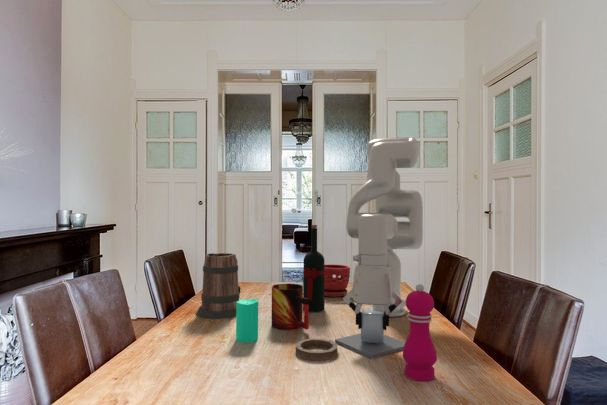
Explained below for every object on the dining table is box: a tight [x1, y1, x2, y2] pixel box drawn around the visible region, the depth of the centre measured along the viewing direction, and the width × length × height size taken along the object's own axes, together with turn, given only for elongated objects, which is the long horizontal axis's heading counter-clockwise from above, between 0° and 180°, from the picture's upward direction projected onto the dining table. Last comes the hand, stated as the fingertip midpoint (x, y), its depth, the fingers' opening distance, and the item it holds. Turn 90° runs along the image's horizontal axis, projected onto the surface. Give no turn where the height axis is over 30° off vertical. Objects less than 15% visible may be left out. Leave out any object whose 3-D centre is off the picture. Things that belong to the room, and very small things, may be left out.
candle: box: [235, 295, 259, 344], centre depth 112 cm, size 6×6×12 cm
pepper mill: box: [402, 283, 438, 382], centre depth 89 cm, size 7×7×20 cm
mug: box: [271, 283, 310, 331], centre depth 124 cm, size 10×14×12 cm
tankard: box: [194, 252, 241, 320], centre depth 143 cm, size 24×17×20 cm
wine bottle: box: [302, 224, 326, 313], centre depth 143 cm, size 8×10×30 cm
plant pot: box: [324, 264, 351, 298], centre depth 168 cm, size 13×13×12 cm
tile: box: [334, 332, 406, 360], centre depth 108 cm, size 14×14×1 cm
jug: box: [360, 308, 385, 343], centre depth 110 cm, size 10×6×7 cm, turn 7°
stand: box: [295, 337, 338, 362], centre depth 102 cm, size 10×10×2 cm
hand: (372, 327), depth 108 cm, fingers closed on jug, 6 cm apart
